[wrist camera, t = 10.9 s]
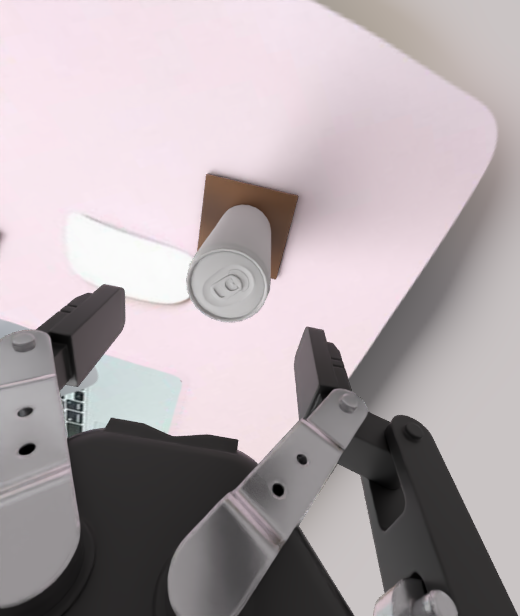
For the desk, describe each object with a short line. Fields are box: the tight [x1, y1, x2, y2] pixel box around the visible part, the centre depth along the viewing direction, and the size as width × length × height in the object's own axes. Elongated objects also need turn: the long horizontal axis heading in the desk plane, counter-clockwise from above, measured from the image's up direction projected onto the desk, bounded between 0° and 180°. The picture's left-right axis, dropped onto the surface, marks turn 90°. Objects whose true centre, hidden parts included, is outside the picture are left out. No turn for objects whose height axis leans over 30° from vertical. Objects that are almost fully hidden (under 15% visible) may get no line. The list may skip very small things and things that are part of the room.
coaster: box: [197, 174, 298, 279], centre depth 27 cm, size 8×8×1 cm
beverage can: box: [186, 205, 271, 322], centre depth 21 cm, size 5×5×12 cm
